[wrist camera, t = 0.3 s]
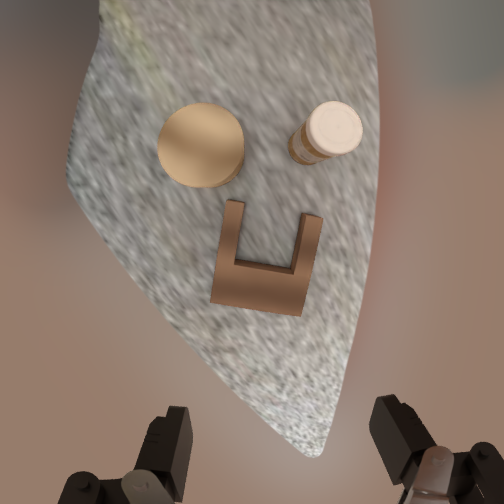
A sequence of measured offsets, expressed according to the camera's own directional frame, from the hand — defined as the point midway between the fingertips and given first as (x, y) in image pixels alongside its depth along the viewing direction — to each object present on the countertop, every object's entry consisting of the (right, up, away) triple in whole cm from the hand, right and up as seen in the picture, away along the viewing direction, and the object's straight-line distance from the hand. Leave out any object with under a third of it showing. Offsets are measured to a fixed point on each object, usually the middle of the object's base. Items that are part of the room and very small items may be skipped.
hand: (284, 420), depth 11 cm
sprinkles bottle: (+5, +20, +24) cm, 31 cm away
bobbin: (-6, +19, +24) cm, 31 cm away
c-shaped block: (0, +7, +26) cm, 27 cm away
